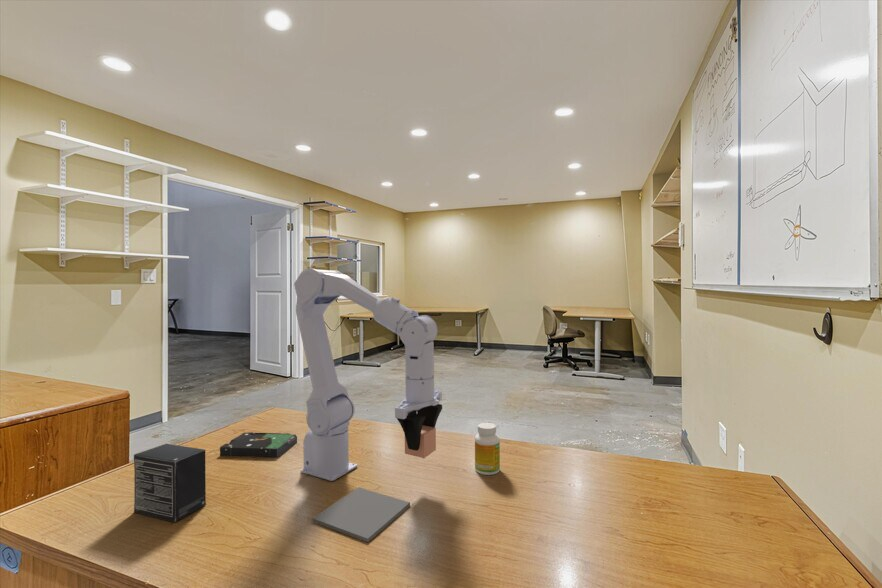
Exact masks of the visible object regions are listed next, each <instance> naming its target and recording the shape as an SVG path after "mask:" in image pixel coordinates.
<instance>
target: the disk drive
mask: <svg viewBox="0 0 882 588" xmlns="http://www.w3.org/2000/svg"><path fill="white" fill-rule="evenodd" d="M297 443H298V436H297V434H294V433H288V432H287V433H286V432H285V433H282V432H280V433H279V432H275V433H274V432H250V431H248V432H243V433H241V434H240V435H238V436H236V437H234V438H233V439H231V440H230V441H229V443H224V444H222V445H221V446H220V447H219V456H220V457H241V458H243V457H246V458H266V459H267V458H268V459H271V458H272V459H276V458H277V459H278V458H279V457H281V456H282V455H283V454H284V453H286V452H287V451H288V450H289V449H291V448H292V447H293V446H294V445H295V444H297Z"/></svg>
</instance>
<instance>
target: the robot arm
mask: <svg viewBox="0 0 882 588" xmlns="http://www.w3.org/2000/svg"><path fill="white" fill-rule="evenodd" d="M293 285H294V286H293V287H294V289H295V293H296V304H295V314H296V319H297V324H298V327H299V333H300V337H301V341H302V346H303V351H304V354H305V360H306V363H307V364H306V365H307V367H308V373H309V377H310V381H311V386H312V390H311V392H310V394H309V396H308V398H307V399H306V401H305V403H306V408H307V411H306V424H307V426H308V428H309V429H308V431H307V432H306V433H305V435H304V439H303V447H302V448H303V468H301V469H300V473H303V474H306V475H310V476H313V477H317V478H320V479H323V480H325V481H330V482H334V481H335V480H337V479H338V478H341V477H342V476H344V475H345V474H347V473H349V472H351V471H353V470H355V469H356V468H357V467H358V464H357V463H353V462H349V461H350V459H349V458H350V457H349V456H350V455H349V451H350V450H349V447H350V446H349V427H350V421H351V420H352V418H353V417H354V415H355V411H356V410H355V404H354V401H353V400H352V398H351V397H350V395H349V393H348V389H347V388H346V386H344V385H343V384H341V383H340V382H339V379H338V375H337V370H336V365H335V362H334V361H335V360H334V357H333V354H332V350H331V345H330V340H329V335H328V331H327V327H326V322H325V318H324V313H326V310H327V309H328V307H329V306H330V305H332V303H333V302H335V301H336V300H337V299H339V298H340V297H341V296H342V297H344V298H346V299H347V300H350V301H351V302H353V303H355V304H357V305H358V306H360V307H362V308H364V309H366V310H368V311H370V312H372V315H373V319H374V321H375V322H377V323H378V324H379V325H381V326H383V327H385V328H386V329H387V330H390V331H391V332H392V333H394V334H396V335H397V336H399V338H400V340H401V342H402V343H403V344H404V347H405V348H404V351H405V352H404V353H405V355H404V356H405V357H404V358H405V359H404V360H405V362H404V363H405V365H404V366H405V367H404V368H405V373H404V375H405V376H404V377H405V382H404V383H405V398H404V399H403V400H402V401H401V402H400V403H399V405H397V406H396V407H394V418H395V419H396V420H397V421H398V422H399V424H400V426H401V429H402V430H403V434H404V438H405V437H406V441H407V445H408V449H411V450H416V451H417V450H419V446H420V438H421V429H422V425H423V426H429V427H435V428H436V425H437V421H438V419H439V416H440V414H441V413H442V411H443V404H440V402H441V401H442V398H443V397H442V391H441V390H435V353H434V352H435V351H434V350H435V348H434V344H435V343H434V342H435V339H436V338H437V336H438V334H439V333H438V332H439V331H438V325H437V323H436V321H435V320H434V319H433V318H432V317H431V316H430V315H427V314H422V315H419V311H418V310H416V309H411V308H409V307H407V306H405V305H404V304H402V303H400V302H401V299H399V298H398V297H395V296H393V297H390V296H387V297H383V298H380V297H379V296H378V295H377V294H375V293H373V291H370V290H369V289H367V288H366V287H364V286H363V285H361V284H359V282H357V281H355V280H354V279H353V278H351V277H350V276H349V275H347V274H344V273H342V272H341V271H339V270H336V269H332V270H330V269H329V270H328V269H315V268H309V267H308V268H305V269H304V270H302V271H301V272H300V273H299V275H298V277H297V278H296V280H295V282H294V284H293Z"/></svg>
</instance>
